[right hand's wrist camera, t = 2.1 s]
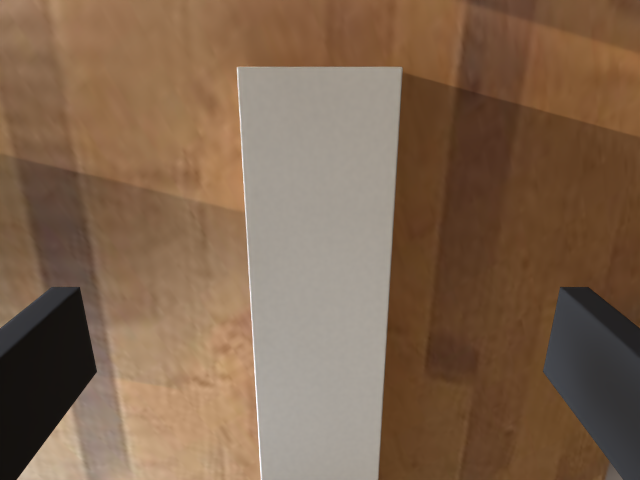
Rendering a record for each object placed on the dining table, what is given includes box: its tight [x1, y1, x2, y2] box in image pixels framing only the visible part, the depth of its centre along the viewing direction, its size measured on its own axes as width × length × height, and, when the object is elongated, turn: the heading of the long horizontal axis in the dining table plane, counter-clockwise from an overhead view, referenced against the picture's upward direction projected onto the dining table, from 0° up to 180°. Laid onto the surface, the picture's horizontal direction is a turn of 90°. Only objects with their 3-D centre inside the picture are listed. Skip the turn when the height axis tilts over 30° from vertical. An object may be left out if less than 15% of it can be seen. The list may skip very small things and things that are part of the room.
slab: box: [237, 67, 403, 480], centre depth 41 cm, size 61×10×7 cm, turn 0°
